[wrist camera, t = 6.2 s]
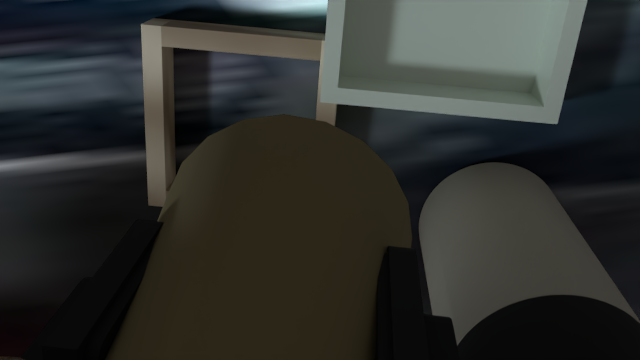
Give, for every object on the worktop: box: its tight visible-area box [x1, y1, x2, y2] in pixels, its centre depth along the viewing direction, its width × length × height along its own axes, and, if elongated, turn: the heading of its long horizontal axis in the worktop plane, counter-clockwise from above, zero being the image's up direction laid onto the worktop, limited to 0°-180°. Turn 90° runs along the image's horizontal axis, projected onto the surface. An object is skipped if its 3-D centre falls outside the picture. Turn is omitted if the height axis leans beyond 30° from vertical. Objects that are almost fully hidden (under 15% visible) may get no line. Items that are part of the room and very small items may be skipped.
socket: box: [141, 18, 337, 207], centre depth 33 cm, size 10×10×2 cm
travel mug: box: [419, 162, 640, 360], centre depth 27 cm, size 8×8×18 cm
